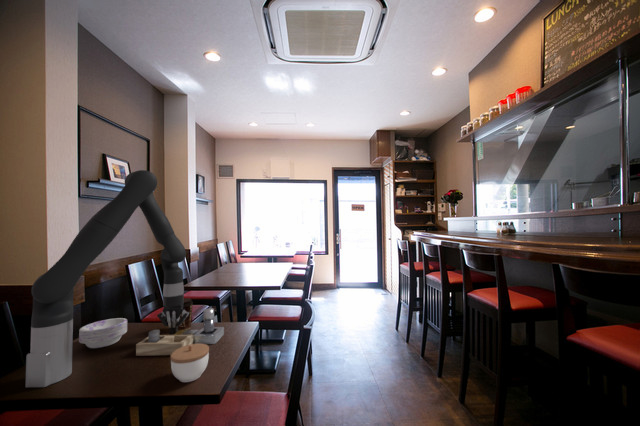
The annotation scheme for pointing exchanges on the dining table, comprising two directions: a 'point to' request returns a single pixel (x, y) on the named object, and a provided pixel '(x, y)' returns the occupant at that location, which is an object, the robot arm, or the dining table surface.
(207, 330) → the grey metal cylinder
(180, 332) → the white and yellow block
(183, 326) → the coffee cup
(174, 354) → the lidded jar
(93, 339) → the paper bowls
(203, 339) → the socket block
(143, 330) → the dining table surface
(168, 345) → the rack
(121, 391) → the dining table surface
